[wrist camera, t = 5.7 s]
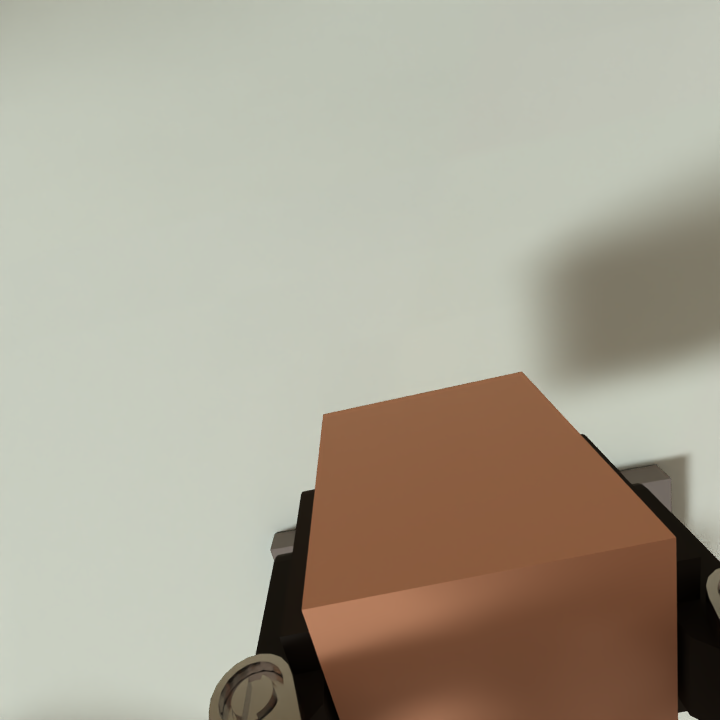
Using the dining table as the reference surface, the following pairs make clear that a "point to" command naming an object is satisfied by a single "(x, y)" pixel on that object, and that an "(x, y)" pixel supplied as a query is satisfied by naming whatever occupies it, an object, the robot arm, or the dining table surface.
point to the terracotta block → (485, 566)
